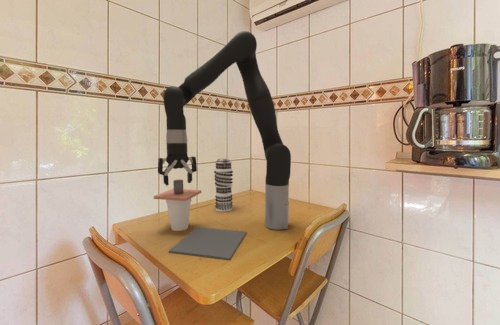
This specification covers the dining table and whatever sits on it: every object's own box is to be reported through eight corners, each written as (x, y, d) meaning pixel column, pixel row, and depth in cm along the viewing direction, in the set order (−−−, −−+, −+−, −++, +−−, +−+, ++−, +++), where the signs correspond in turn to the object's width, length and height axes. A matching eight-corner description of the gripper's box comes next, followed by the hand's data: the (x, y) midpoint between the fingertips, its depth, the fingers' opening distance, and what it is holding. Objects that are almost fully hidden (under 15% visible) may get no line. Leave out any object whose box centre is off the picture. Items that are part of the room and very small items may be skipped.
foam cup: (196, 224, 97) (195, 193, 96) (184, 233, 88) (183, 199, 87) (175, 222, 100) (174, 192, 98) (162, 230, 91) (160, 197, 90)
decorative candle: (225, 213, 112) (225, 160, 109) (210, 210, 117) (209, 159, 114) (236, 208, 120) (236, 158, 117) (222, 205, 125) (221, 157, 122)
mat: (246, 233, 89) (246, 231, 89) (230, 260, 70) (230, 258, 70) (197, 228, 94) (197, 226, 93) (168, 252, 74) (168, 250, 74)
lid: (201, 192, 98) (201, 178, 97) (185, 201, 85) (185, 184, 84) (172, 191, 101) (172, 177, 100) (153, 198, 88) (153, 182, 87)
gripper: (192, 141, 97) (193, 180, 99) (155, 142, 90) (156, 184, 92) (198, 142, 91) (199, 183, 93) (159, 142, 84) (161, 187, 85)
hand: (178, 183), depth 92 cm, fingers open, 8 cm apart
